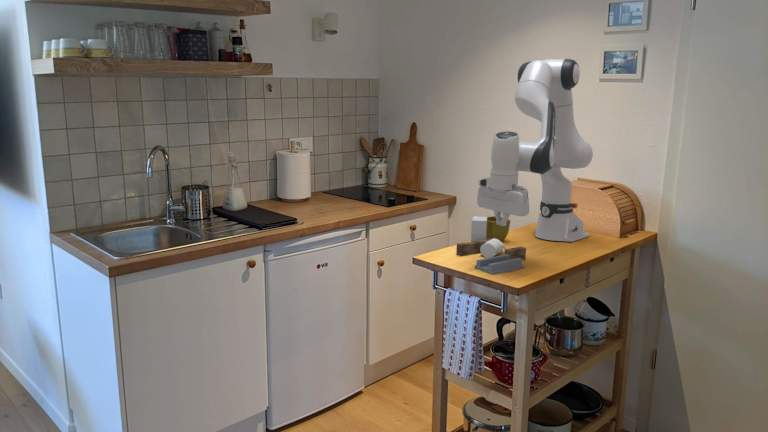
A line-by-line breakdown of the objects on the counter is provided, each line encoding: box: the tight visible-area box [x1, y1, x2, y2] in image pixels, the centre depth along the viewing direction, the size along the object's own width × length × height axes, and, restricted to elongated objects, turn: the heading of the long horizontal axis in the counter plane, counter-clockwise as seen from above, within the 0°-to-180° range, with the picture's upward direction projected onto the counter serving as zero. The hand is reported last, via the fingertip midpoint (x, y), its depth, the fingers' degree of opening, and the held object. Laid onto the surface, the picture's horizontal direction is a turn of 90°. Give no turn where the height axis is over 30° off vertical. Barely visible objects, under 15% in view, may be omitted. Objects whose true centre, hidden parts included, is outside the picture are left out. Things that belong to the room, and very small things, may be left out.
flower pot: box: [486, 215, 511, 243], centre depth 238 cm, size 9×9×9 cm
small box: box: [470, 215, 488, 242], centre depth 231 cm, size 8×6×10 cm
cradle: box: [474, 254, 525, 276], centre depth 202 cm, size 14×8×3 cm, turn 124°
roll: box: [480, 238, 505, 258], centre depth 219 cm, size 6×12×6 cm, turn 149°
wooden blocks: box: [455, 238, 527, 261], centre depth 216 cm, size 17×17×4 cm
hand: (501, 225), depth 199 cm, fingers closed
